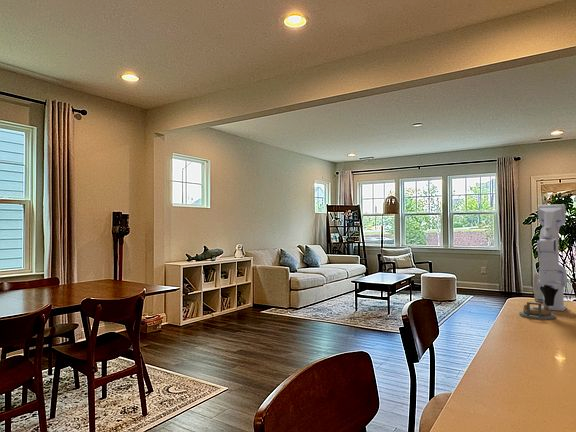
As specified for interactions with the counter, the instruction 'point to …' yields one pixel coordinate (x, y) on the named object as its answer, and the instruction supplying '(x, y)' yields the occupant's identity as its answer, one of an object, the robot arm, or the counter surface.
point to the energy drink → (537, 290)
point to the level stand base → (540, 316)
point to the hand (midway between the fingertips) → (549, 305)
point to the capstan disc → (536, 310)
